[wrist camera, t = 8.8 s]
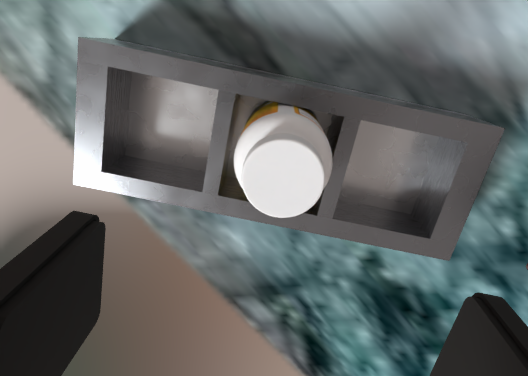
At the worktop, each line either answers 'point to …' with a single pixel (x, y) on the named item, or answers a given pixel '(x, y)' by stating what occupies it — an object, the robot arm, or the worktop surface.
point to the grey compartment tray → (232, 124)
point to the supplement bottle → (282, 159)
